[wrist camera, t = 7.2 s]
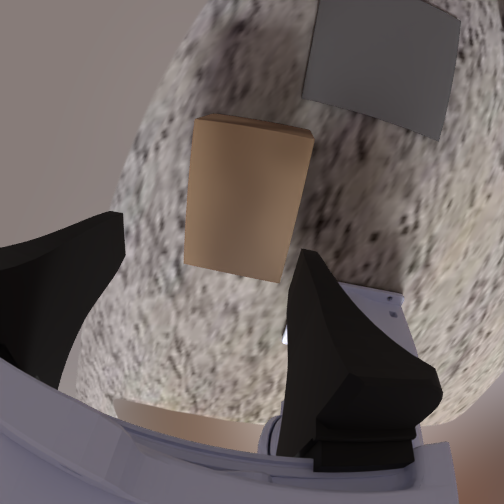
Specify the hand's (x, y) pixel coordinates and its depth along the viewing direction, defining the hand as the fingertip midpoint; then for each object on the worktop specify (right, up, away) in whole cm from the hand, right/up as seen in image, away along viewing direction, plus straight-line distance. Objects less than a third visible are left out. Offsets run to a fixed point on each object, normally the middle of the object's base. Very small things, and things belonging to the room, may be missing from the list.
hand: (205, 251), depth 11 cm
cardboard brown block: (+2, +4, +6) cm, 7 cm away
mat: (+11, +13, +3) cm, 17 cm away
